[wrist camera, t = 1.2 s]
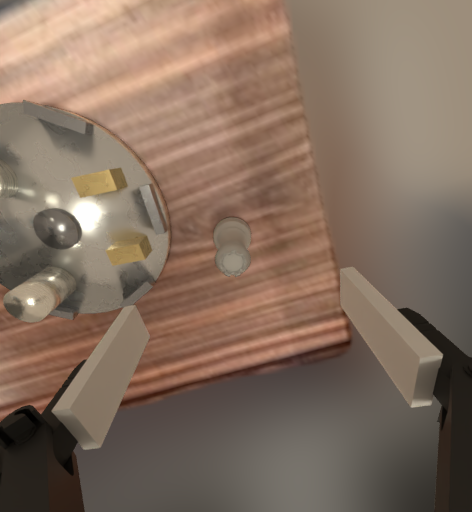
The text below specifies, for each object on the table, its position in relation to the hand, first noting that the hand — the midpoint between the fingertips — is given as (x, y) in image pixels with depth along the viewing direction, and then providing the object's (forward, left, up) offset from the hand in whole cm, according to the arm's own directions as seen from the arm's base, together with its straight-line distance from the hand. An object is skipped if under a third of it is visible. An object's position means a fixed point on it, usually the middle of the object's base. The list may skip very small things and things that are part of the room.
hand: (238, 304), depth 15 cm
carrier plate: (-18, +5, -14) cm, 23 cm away
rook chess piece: (0, 0, -14) cm, 14 cm away
